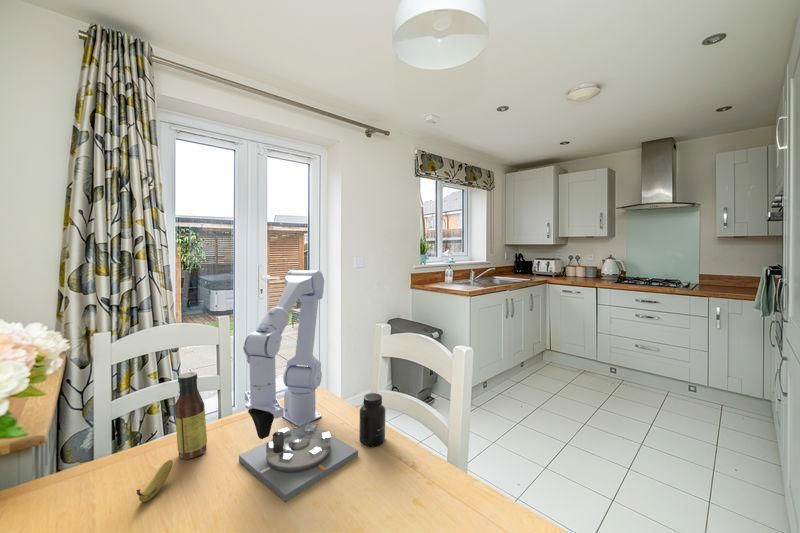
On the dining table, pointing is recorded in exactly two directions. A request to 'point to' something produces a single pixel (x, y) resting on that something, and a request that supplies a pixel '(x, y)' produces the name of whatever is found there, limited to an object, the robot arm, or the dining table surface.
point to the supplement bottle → (372, 421)
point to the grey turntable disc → (298, 448)
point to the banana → (156, 482)
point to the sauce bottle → (190, 418)
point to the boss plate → (296, 482)
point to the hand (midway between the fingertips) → (263, 436)
